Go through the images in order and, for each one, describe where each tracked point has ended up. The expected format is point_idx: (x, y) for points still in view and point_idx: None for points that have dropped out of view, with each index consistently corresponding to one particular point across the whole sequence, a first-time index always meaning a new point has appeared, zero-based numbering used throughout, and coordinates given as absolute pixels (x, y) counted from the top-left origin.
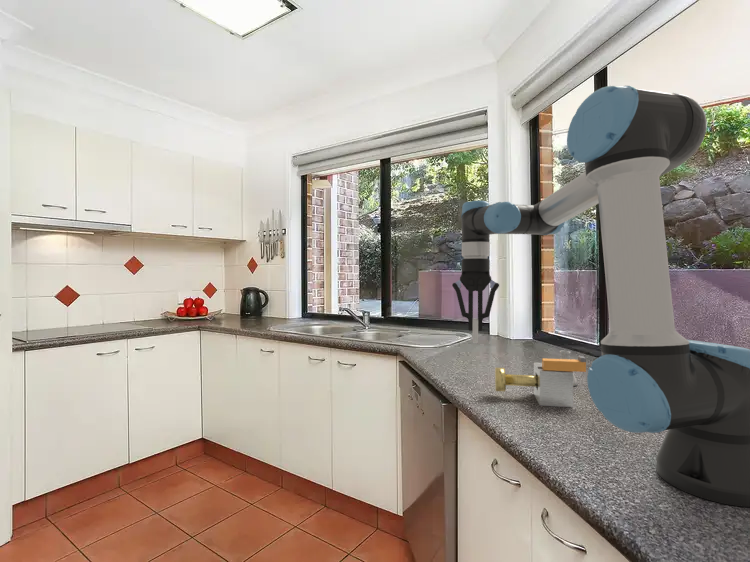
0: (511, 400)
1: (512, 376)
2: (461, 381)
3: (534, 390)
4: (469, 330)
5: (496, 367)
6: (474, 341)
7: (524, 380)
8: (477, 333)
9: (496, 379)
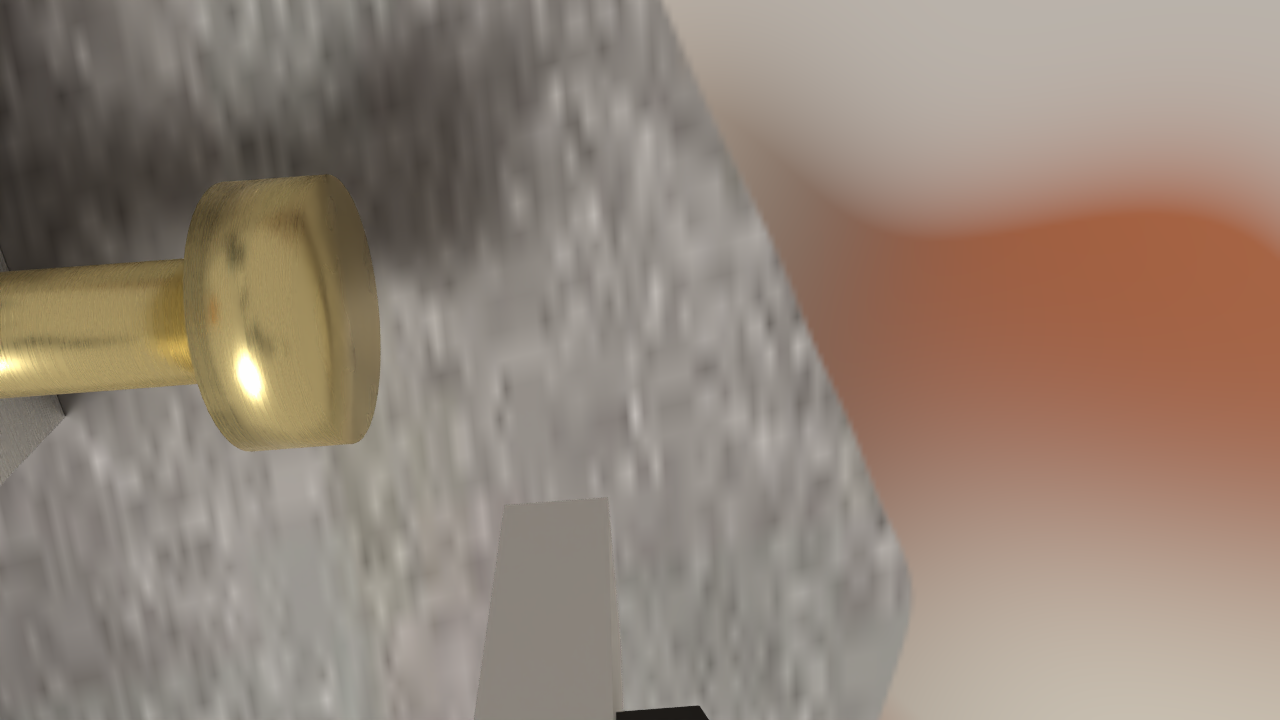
0: (226, 176)
1: (130, 309)
2: (723, 605)
3: (27, 401)
4: (689, 709)
5: (305, 396)
6: (572, 521)
7: (3, 282)
8: (500, 637)
9: (308, 193)
